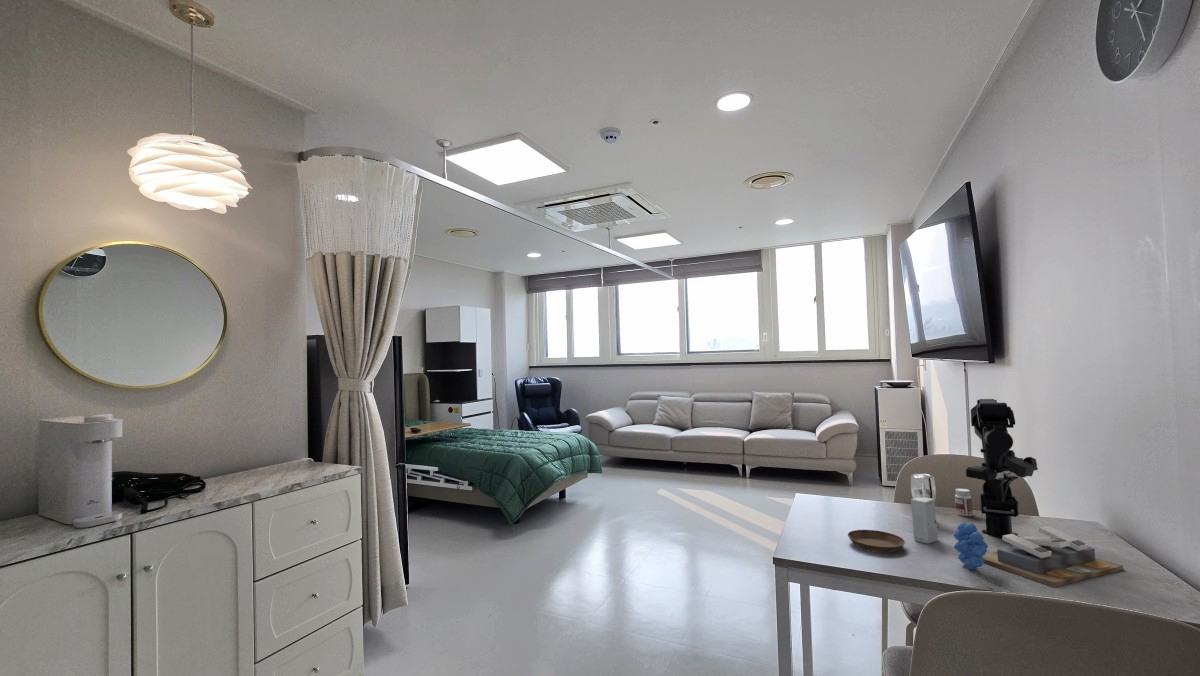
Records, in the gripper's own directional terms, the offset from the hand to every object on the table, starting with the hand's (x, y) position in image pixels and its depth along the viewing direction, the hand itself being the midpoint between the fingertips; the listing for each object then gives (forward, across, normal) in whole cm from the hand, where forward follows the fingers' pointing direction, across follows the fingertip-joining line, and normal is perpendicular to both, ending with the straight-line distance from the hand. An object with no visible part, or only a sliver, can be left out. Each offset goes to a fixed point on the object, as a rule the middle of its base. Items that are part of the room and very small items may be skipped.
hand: (1001, 501), depth 142 cm
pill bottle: (+13, +20, +26) cm, 35 cm away
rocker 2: (+7, +4, -12) cm, 15 cm away
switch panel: (+13, -3, -12) cm, 18 cm away
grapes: (+13, -22, -7) cm, 27 cm away
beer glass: (+13, +2, +26) cm, 29 cm away
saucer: (+14, -31, +15) cm, 37 cm away
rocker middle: (+7, -3, -12) cm, 14 cm away
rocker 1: (+7, -10, -12) cm, 17 cm away
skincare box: (+13, -14, +13) cm, 23 cm away
